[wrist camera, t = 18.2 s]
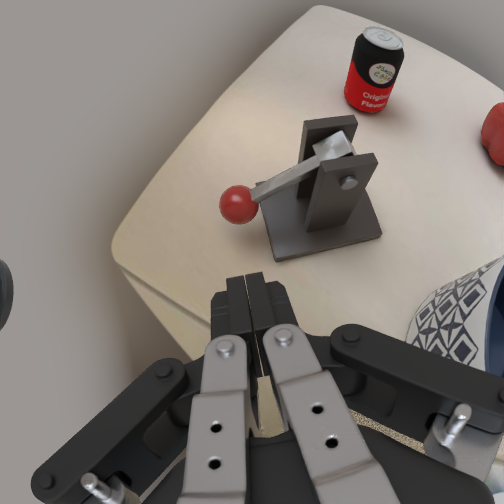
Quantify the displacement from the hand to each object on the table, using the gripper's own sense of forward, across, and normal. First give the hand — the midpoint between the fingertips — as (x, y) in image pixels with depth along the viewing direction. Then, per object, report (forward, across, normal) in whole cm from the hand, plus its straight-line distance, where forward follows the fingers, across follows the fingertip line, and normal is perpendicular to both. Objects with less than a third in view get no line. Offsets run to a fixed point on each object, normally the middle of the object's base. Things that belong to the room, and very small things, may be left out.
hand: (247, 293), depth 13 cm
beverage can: (+32, -21, -6) cm, 39 cm away
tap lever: (+16, -6, +1) cm, 17 cm away
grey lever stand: (+21, -9, +5) cm, 23 cm away
